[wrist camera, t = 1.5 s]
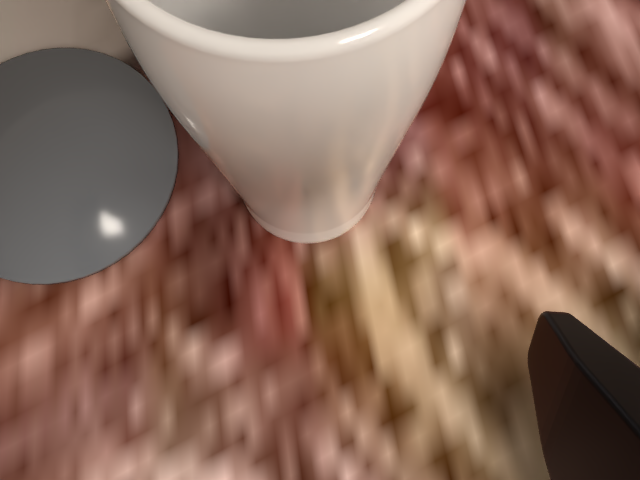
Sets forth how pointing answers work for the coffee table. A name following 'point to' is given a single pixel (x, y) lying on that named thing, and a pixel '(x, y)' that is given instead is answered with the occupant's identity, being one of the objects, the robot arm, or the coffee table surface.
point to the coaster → (79, 164)
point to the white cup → (294, 94)
